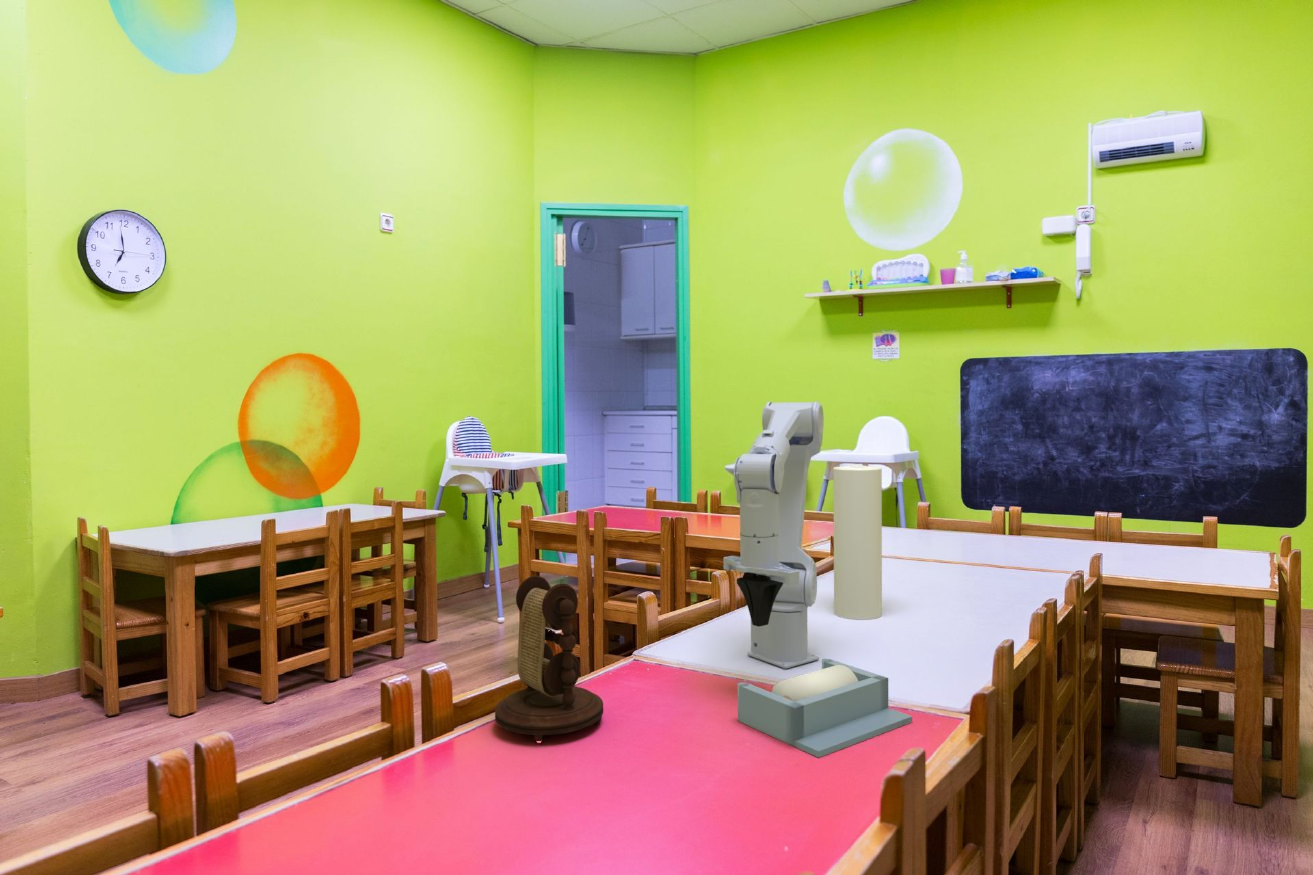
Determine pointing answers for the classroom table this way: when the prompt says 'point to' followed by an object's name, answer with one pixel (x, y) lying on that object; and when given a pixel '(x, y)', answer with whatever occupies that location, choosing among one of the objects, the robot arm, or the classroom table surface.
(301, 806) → the classroom table surface
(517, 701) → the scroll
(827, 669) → the cylinder
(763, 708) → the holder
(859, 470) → the cylinder container
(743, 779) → the classroom table surface
